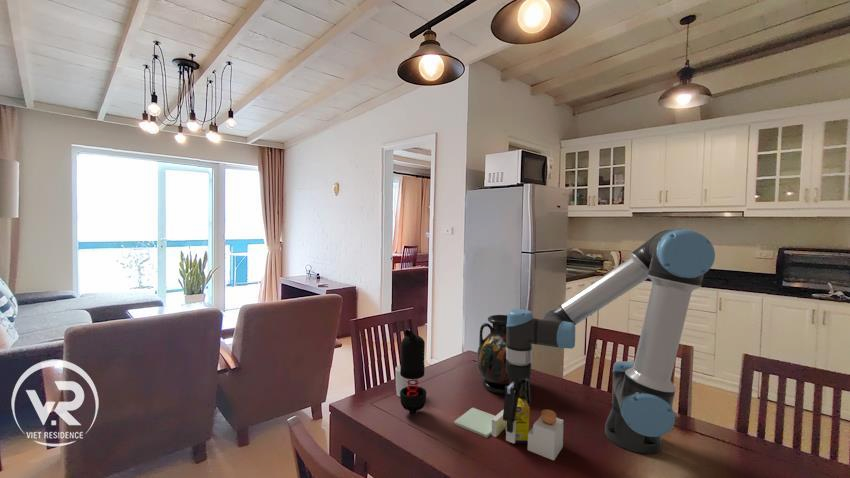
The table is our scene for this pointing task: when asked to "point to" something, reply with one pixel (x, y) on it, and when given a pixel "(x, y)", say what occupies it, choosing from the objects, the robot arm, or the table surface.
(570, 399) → the table surface
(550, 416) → the brown egg
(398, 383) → the white cup
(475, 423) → the pad
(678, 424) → the table surface
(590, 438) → the table surface
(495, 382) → the amphora vase
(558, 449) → the dock
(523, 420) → the supplement box
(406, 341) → the filter
